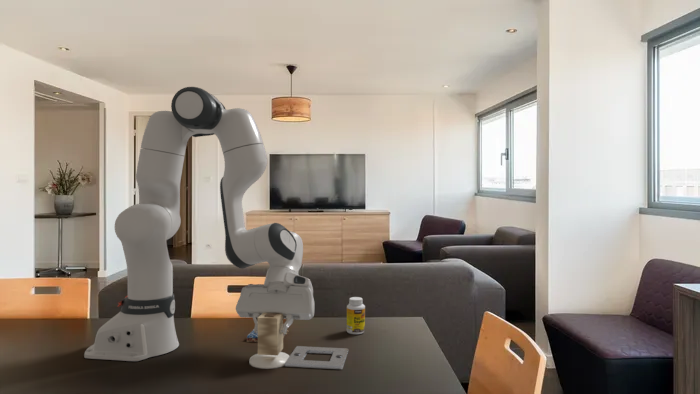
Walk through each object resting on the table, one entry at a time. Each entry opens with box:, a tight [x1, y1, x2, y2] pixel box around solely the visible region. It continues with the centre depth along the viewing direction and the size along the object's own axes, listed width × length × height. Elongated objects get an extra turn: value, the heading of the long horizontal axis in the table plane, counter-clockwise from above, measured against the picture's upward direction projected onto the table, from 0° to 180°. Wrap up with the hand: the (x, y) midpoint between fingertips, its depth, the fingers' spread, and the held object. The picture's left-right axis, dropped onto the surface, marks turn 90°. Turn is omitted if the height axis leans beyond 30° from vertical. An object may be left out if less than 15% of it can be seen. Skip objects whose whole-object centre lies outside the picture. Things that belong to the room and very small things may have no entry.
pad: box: [248, 351, 290, 370], centre depth 110 cm, size 10×10×1 cm
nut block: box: [257, 313, 284, 355], centre depth 110 cm, size 5×5×9 cm
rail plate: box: [284, 345, 349, 370], centre depth 112 cm, size 14×12×1 cm
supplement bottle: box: [346, 296, 366, 335], centre depth 133 cm, size 6×6×10 cm
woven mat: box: [246, 328, 290, 343], centre depth 129 cm, size 10×11×2 cm
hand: (269, 332), depth 109 cm, fingers closed on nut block, 5 cm apart
